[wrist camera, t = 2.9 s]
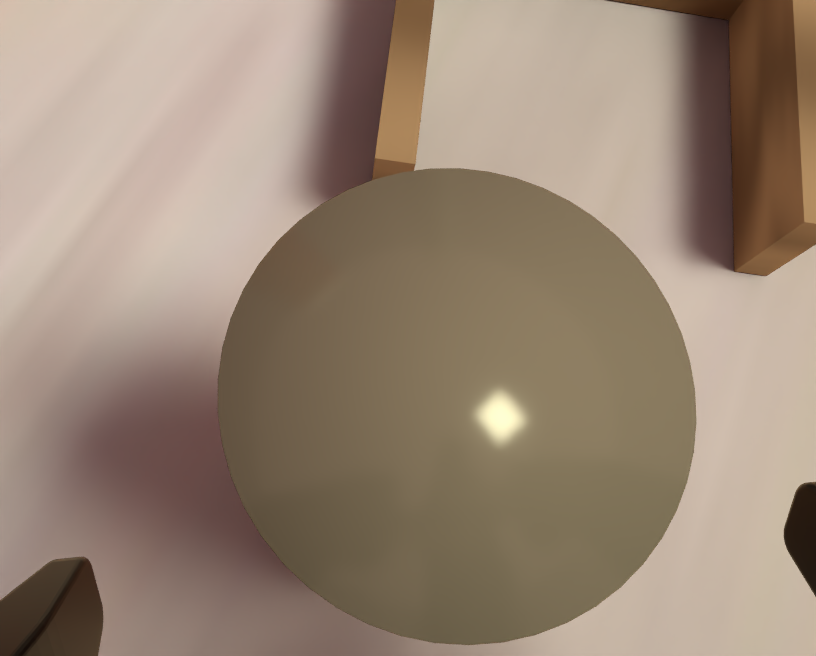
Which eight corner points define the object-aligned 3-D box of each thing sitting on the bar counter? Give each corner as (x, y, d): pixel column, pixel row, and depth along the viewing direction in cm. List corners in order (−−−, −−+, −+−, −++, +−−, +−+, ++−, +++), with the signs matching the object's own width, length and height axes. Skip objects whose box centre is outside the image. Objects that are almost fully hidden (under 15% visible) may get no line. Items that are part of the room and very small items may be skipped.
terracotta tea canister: (523, 525, 20) (787, 478, 9) (340, 638, 19) (370, 756, 7) (419, 349, 21) (534, 102, 10) (241, 444, 20) (132, 290, 9)
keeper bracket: (766, 275, 23) (842, 227, 20) (367, 218, 22) (375, 157, 19) (756, 0, 26) (820, -83, 23) (404, -60, 25) (416, -155, 22)
